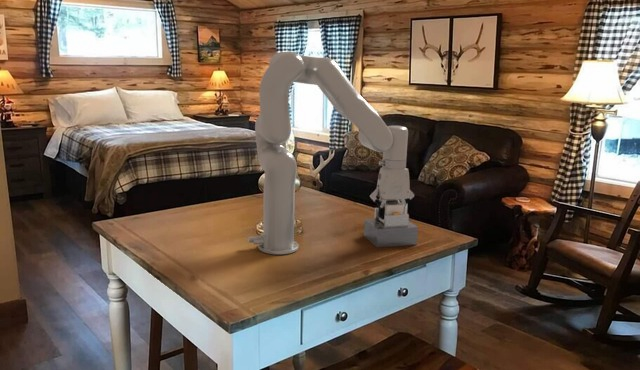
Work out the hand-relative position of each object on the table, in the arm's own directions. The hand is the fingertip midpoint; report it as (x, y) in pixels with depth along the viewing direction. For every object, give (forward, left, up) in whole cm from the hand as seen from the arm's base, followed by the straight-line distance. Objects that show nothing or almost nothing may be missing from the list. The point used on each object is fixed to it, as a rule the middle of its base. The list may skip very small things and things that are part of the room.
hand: (391, 217), depth 182 cm
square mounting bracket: (0, 0, -8) cm, 8 cm away
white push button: (0, 0, -1) cm, 1 cm away
